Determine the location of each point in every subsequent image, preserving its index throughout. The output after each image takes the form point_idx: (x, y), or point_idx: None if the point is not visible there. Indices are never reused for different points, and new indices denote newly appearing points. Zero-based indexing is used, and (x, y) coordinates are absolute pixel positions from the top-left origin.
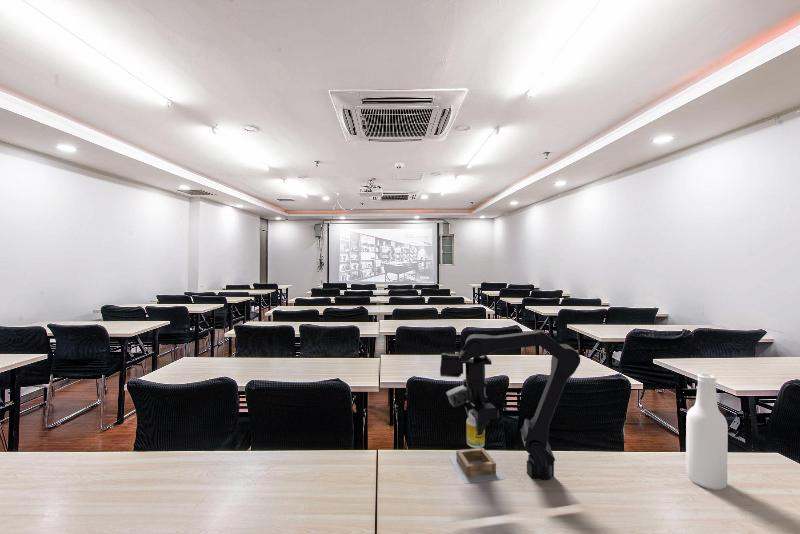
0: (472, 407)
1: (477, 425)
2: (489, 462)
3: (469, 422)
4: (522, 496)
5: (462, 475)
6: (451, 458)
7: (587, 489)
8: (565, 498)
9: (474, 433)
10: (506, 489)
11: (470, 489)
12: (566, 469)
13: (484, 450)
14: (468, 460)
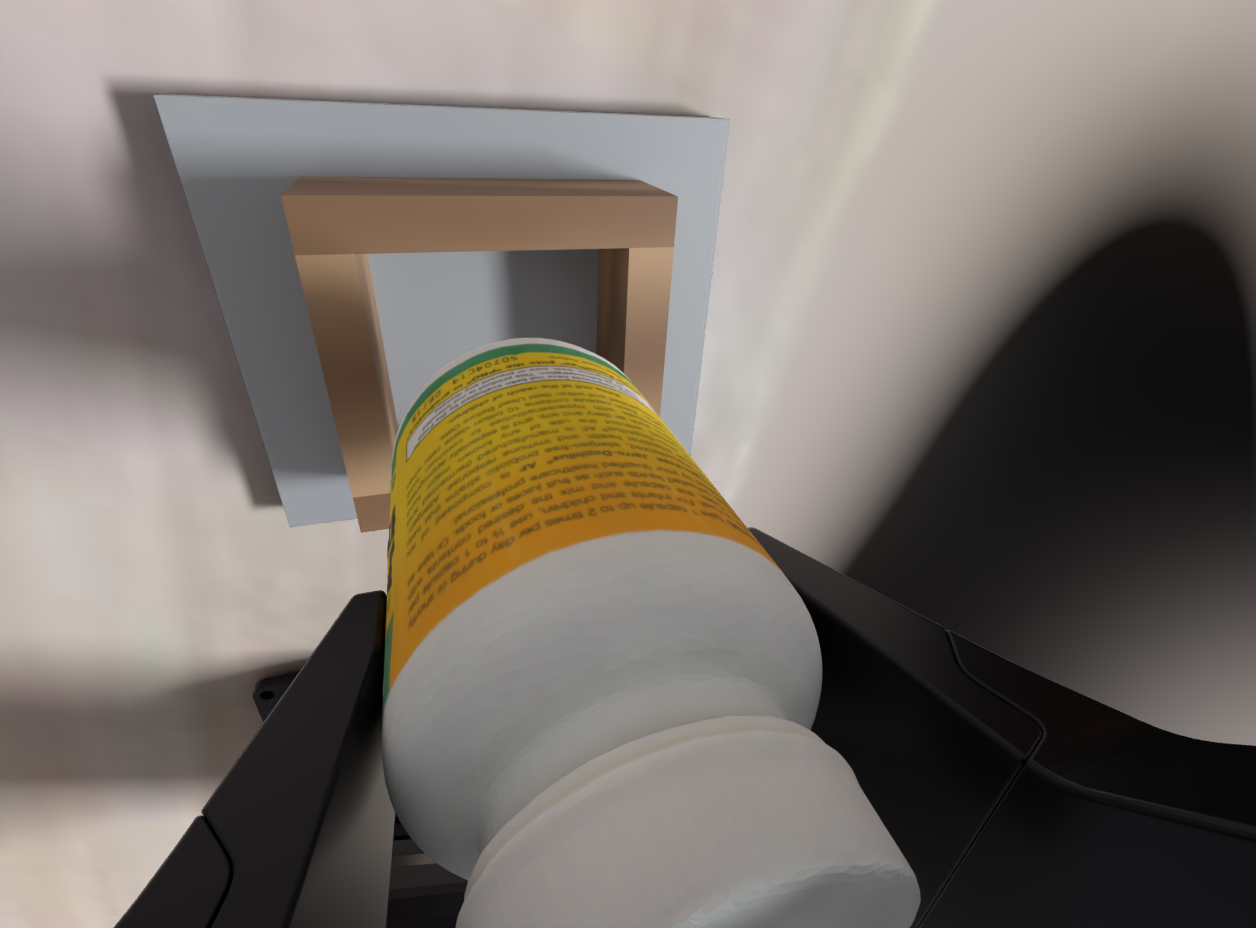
0: (1000, 904)
1: (192, 824)
2: (380, 481)
3: (520, 625)
4: (101, 573)
5: (338, 134)
6: (683, 136)
7: None
8: (126, 781)
9: (397, 547)
10: (194, 490)
11: (149, 153)
12: None
13: None
14: (600, 304)
